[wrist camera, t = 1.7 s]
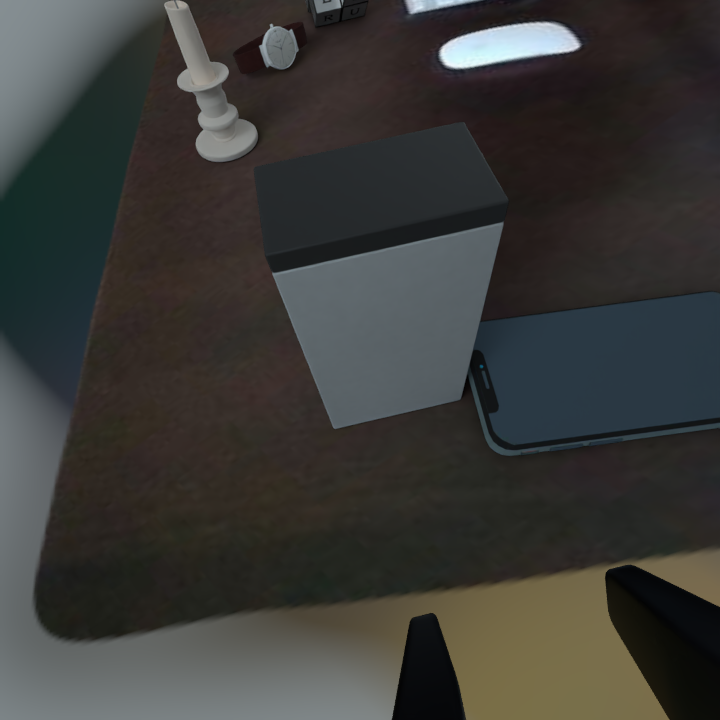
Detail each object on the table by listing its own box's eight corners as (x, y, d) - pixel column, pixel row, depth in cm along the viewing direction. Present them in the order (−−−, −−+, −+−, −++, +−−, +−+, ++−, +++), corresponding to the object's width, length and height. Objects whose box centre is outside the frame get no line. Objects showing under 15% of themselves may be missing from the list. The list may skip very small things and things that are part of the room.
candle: (255, 118, 39) (209, -31, 30) (261, 154, 36) (213, 2, 27) (196, 132, 39) (132, -15, 30) (198, 168, 36) (129, 20, 27)
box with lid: (461, 400, 24) (510, 201, 12) (333, 429, 24) (264, 255, 12) (439, 339, 26) (464, 120, 14) (321, 366, 26) (252, 166, 14)
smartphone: (817, 410, 20) (495, 453, 20) (788, 424, 22) (488, 464, 22) (728, 284, 24) (458, 319, 24) (709, 302, 26) (454, 336, 26)
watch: (255, 89, 41) (243, 45, 38) (229, 71, 43) (215, 29, 40) (319, 54, 43) (312, 10, 40) (291, 39, 45) (283, -3, 42)
